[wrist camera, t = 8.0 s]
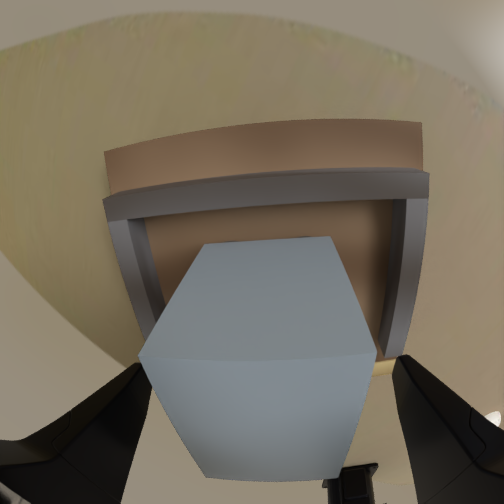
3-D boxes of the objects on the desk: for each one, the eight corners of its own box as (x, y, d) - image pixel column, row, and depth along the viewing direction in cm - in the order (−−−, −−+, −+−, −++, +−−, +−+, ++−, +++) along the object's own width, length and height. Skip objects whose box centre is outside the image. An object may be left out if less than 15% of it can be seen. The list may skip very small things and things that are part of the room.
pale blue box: (322, 362, 15) (335, 484, 8) (234, 365, 16) (210, 483, 9) (326, 227, 12) (377, 352, 5) (210, 235, 13) (137, 356, 6)
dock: (382, 346, 17) (398, 390, 14) (180, 354, 19) (163, 396, 15) (399, 122, 12) (438, 122, 8) (128, 147, 14) (85, 155, 10)
